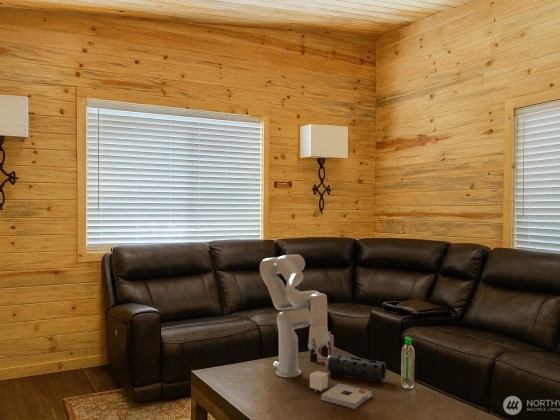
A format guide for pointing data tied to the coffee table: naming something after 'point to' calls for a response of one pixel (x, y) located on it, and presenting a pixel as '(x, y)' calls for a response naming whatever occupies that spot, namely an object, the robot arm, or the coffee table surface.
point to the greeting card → (330, 349)
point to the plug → (318, 380)
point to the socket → (346, 396)
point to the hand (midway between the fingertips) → (319, 359)
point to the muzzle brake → (356, 367)
